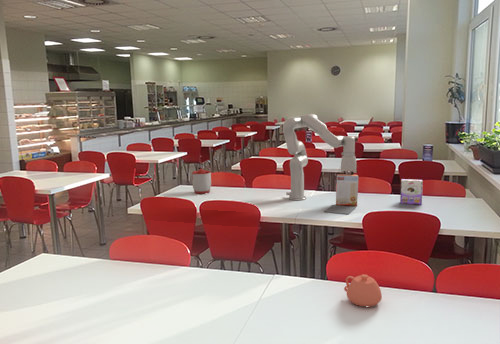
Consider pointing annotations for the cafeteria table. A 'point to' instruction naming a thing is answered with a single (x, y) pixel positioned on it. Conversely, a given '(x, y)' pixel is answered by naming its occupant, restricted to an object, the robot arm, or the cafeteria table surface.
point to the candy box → (411, 191)
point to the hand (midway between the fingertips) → (348, 180)
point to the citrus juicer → (201, 181)
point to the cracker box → (347, 189)
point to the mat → (340, 209)
